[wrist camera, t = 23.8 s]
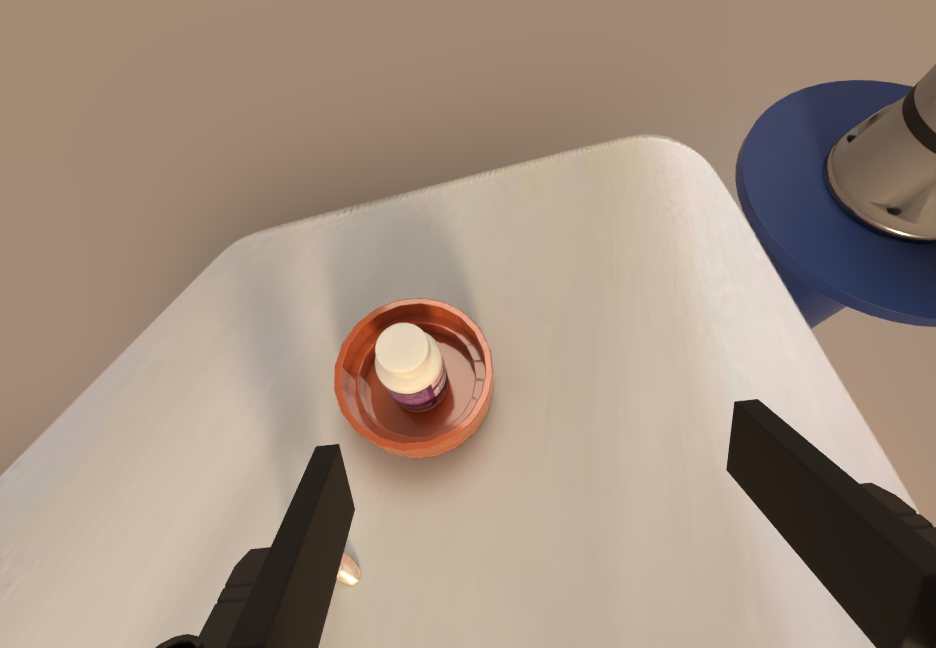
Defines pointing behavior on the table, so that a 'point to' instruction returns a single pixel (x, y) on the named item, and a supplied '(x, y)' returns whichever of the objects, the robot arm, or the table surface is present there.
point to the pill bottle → (411, 367)
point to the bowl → (377, 408)
